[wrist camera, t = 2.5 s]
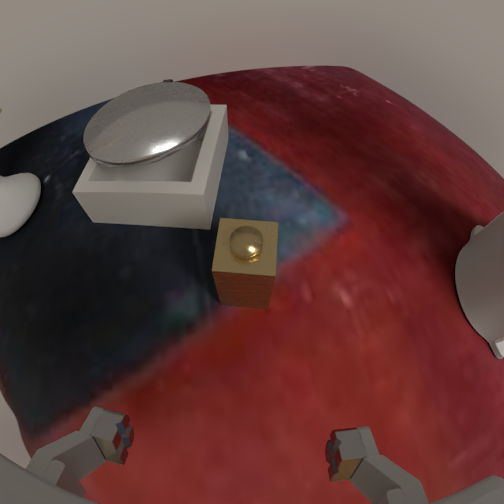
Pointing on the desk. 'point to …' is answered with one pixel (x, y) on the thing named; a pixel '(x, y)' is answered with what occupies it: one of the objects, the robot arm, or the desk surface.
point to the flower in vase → (17, 200)
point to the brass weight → (245, 262)
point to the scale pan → (147, 124)
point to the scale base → (160, 184)
